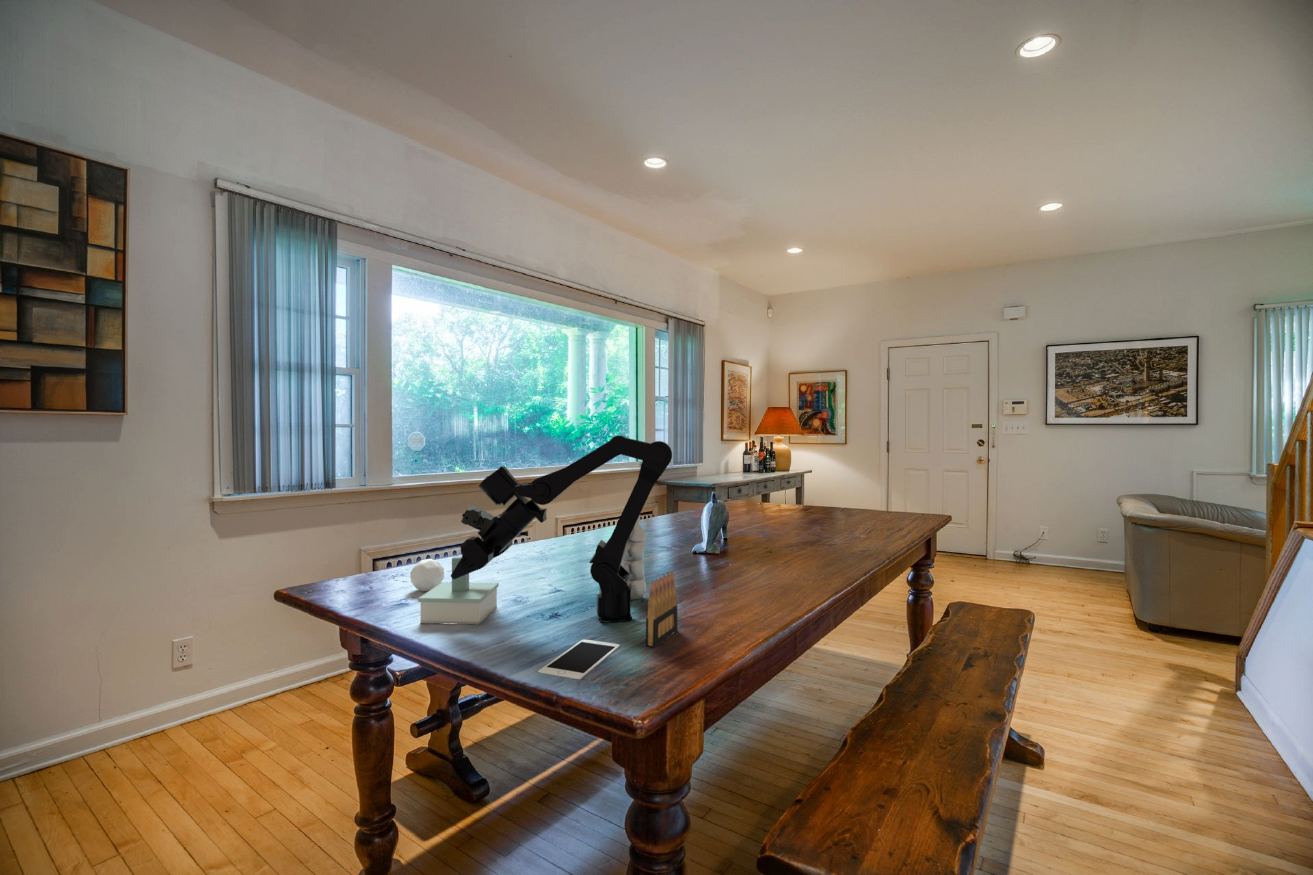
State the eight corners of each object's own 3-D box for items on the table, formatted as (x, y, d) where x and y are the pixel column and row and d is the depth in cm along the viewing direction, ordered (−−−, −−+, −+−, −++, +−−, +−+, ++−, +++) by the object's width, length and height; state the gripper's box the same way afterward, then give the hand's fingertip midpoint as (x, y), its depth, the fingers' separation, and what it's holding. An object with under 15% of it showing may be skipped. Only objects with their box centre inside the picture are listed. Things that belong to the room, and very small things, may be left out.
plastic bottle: (642, 603, 134) (643, 516, 134) (614, 601, 136) (614, 515, 136) (648, 595, 141) (649, 512, 141) (621, 594, 142) (622, 511, 142)
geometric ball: (435, 599, 146) (456, 572, 147) (417, 596, 139) (438, 568, 140) (416, 581, 149) (436, 555, 150) (397, 577, 141) (418, 550, 143)
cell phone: (536, 675, 96) (536, 671, 96) (583, 642, 111) (583, 638, 111) (579, 682, 93) (579, 678, 93) (620, 647, 108) (620, 644, 108)
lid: (498, 591, 131) (498, 551, 131) (480, 607, 119) (480, 564, 119) (442, 590, 132) (442, 551, 131) (418, 607, 119) (418, 563, 119)
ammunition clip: (654, 648, 107) (654, 582, 107) (645, 646, 108) (645, 581, 108) (677, 630, 117) (678, 570, 116) (669, 629, 117) (669, 569, 117)
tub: (496, 607, 131) (496, 586, 131) (479, 624, 119) (479, 602, 119) (443, 606, 131) (443, 586, 131) (420, 623, 119) (420, 601, 119)
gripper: (499, 489, 134) (450, 537, 134) (471, 499, 115) (415, 554, 116) (532, 525, 134) (484, 572, 134) (510, 540, 115) (454, 594, 116)
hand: (460, 572), depth 125 cm, fingers open, 9 cm apart
